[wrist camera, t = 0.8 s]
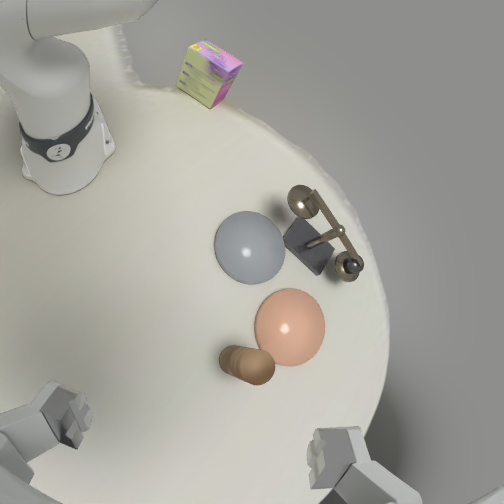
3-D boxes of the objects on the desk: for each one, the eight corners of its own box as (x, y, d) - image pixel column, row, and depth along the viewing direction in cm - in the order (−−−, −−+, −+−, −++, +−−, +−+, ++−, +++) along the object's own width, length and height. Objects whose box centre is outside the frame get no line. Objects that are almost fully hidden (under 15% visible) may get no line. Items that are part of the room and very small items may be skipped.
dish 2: (242, 305, 48) (245, 304, 47) (306, 279, 54) (310, 278, 53) (271, 378, 47) (274, 379, 46) (330, 345, 53) (333, 345, 52)
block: (214, 352, 44) (235, 358, 35) (241, 340, 46) (267, 343, 38) (225, 379, 44) (249, 391, 35) (251, 367, 46) (280, 375, 37)
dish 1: (204, 222, 49) (206, 220, 48) (267, 207, 55) (269, 205, 54) (229, 294, 48) (232, 293, 47) (291, 271, 53) (295, 270, 52)
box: (224, 98, 58) (244, 62, 48) (210, 110, 56) (228, 71, 45) (190, 75, 56) (205, 38, 46) (174, 86, 54) (187, 46, 43)
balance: (257, 221, 53) (292, 192, 42) (276, 197, 56) (311, 168, 45) (335, 293, 56) (380, 283, 45) (348, 267, 59) (391, 253, 48)
